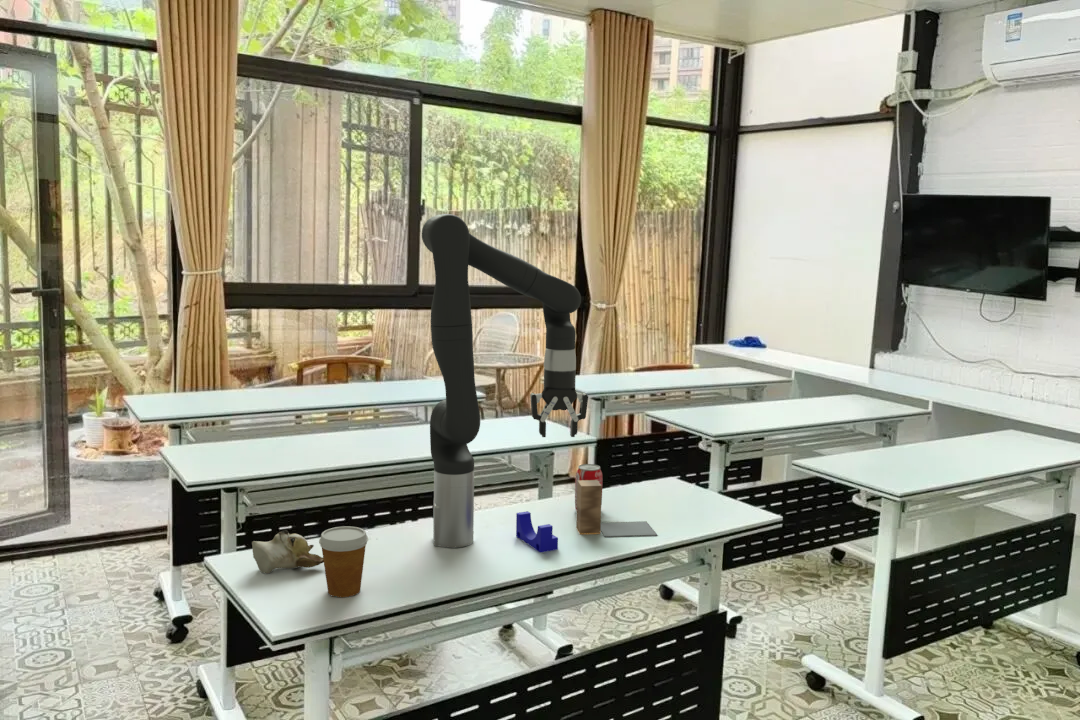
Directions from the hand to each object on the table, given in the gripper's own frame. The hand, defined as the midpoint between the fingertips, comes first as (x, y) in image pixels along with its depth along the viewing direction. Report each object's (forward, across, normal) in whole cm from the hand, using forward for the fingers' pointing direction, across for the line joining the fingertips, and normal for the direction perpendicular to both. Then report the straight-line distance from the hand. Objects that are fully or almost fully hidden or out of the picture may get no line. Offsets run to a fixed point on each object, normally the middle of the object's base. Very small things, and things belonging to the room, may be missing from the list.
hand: (558, 436), depth 210 cm
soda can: (+24, +11, +15) cm, 30 cm away
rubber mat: (+24, +18, 0) cm, 29 cm away
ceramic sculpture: (+24, -61, -18) cm, 68 cm away
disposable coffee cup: (+24, -48, -32) cm, 62 cm away
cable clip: (+24, -6, -7) cm, 26 cm away
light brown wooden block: (+24, +8, 0) cm, 25 cm away
